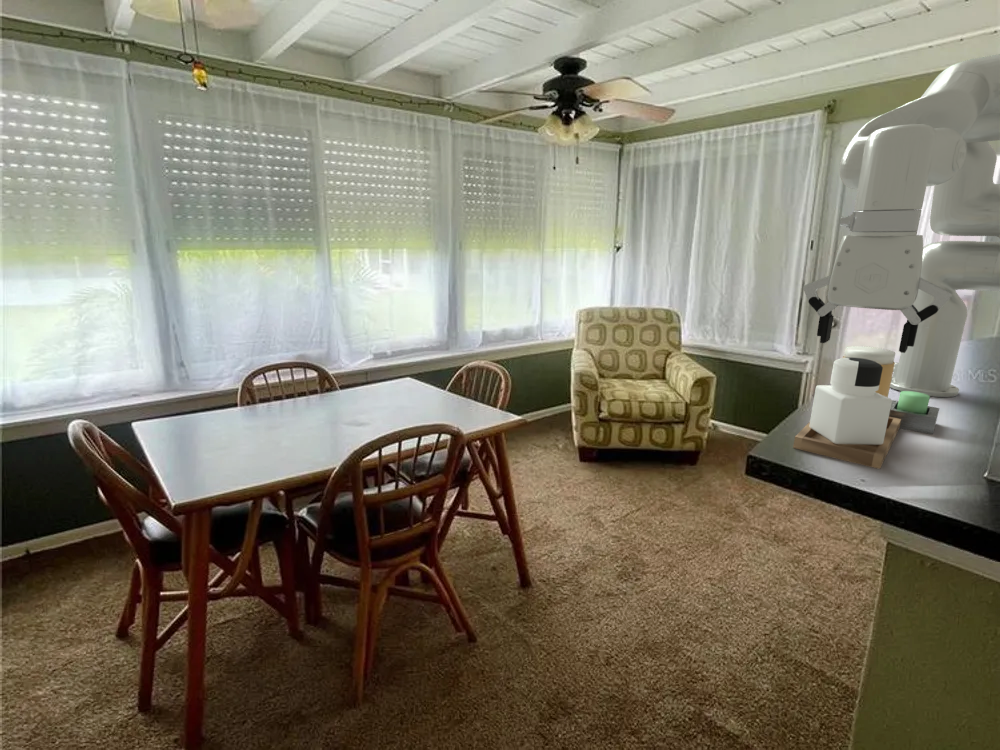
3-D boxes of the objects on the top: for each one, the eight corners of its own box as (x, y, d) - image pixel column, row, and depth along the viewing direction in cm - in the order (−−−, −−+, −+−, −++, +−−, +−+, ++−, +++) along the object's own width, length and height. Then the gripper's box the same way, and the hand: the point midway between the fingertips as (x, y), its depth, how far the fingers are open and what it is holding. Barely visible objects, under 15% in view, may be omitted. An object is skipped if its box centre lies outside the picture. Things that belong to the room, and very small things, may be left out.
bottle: (821, 422, 91) (834, 345, 87) (860, 421, 91) (874, 345, 88) (849, 437, 84) (864, 355, 81) (890, 436, 84) (908, 355, 81)
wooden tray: (823, 420, 95) (826, 404, 95) (897, 435, 88) (901, 419, 87) (792, 454, 80) (794, 436, 80) (878, 476, 73) (882, 456, 72)
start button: (897, 411, 93) (901, 389, 92) (925, 416, 90) (930, 394, 89) (894, 416, 90) (899, 394, 89) (923, 422, 87) (928, 399, 86)
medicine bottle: (853, 428, 83) (867, 354, 80) (883, 445, 76) (900, 366, 73) (807, 427, 83) (820, 354, 80) (834, 444, 76) (848, 365, 73)
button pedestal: (885, 420, 96) (889, 399, 94) (934, 429, 91) (939, 408, 90) (879, 430, 90) (884, 408, 89) (930, 441, 86) (936, 418, 85)
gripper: (806, 225, 75) (790, 342, 79) (966, 224, 63) (935, 360, 68) (819, 225, 80) (803, 334, 85) (968, 223, 69) (940, 350, 74)
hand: (862, 346), depth 76 cm, fingers open, 9 cm apart
